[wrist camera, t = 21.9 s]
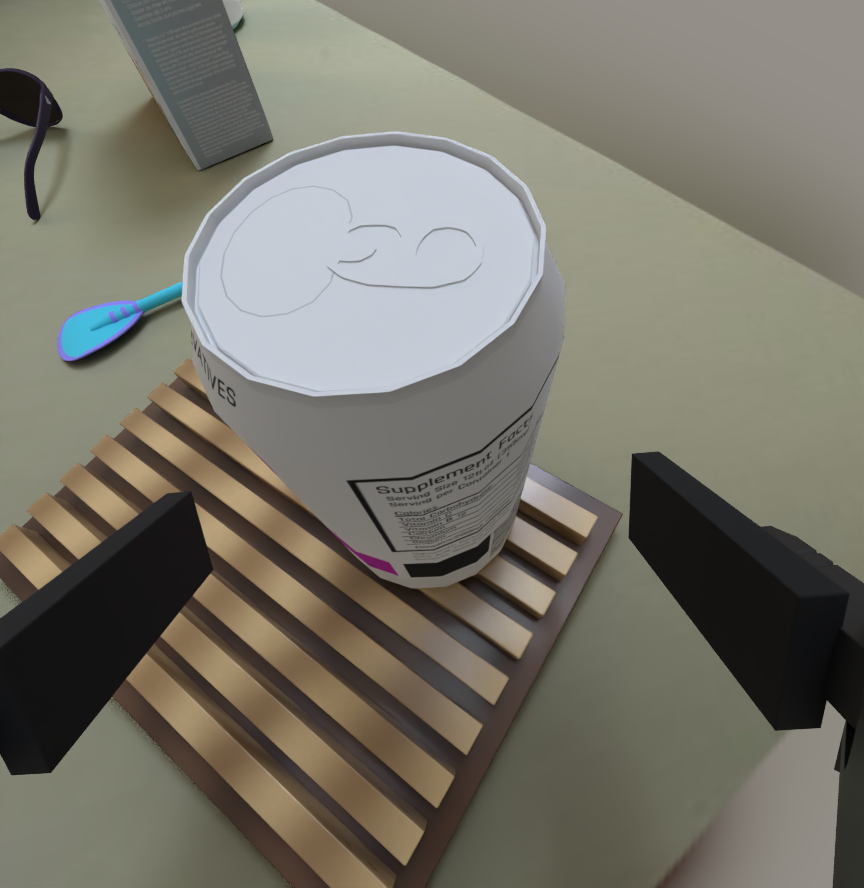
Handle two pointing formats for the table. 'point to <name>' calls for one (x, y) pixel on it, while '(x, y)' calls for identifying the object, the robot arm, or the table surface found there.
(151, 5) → the hard drive box
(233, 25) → the can
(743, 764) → the table surface
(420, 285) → the supplement can
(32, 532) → the scrub board
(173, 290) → the spoon
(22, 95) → the sunglasses
